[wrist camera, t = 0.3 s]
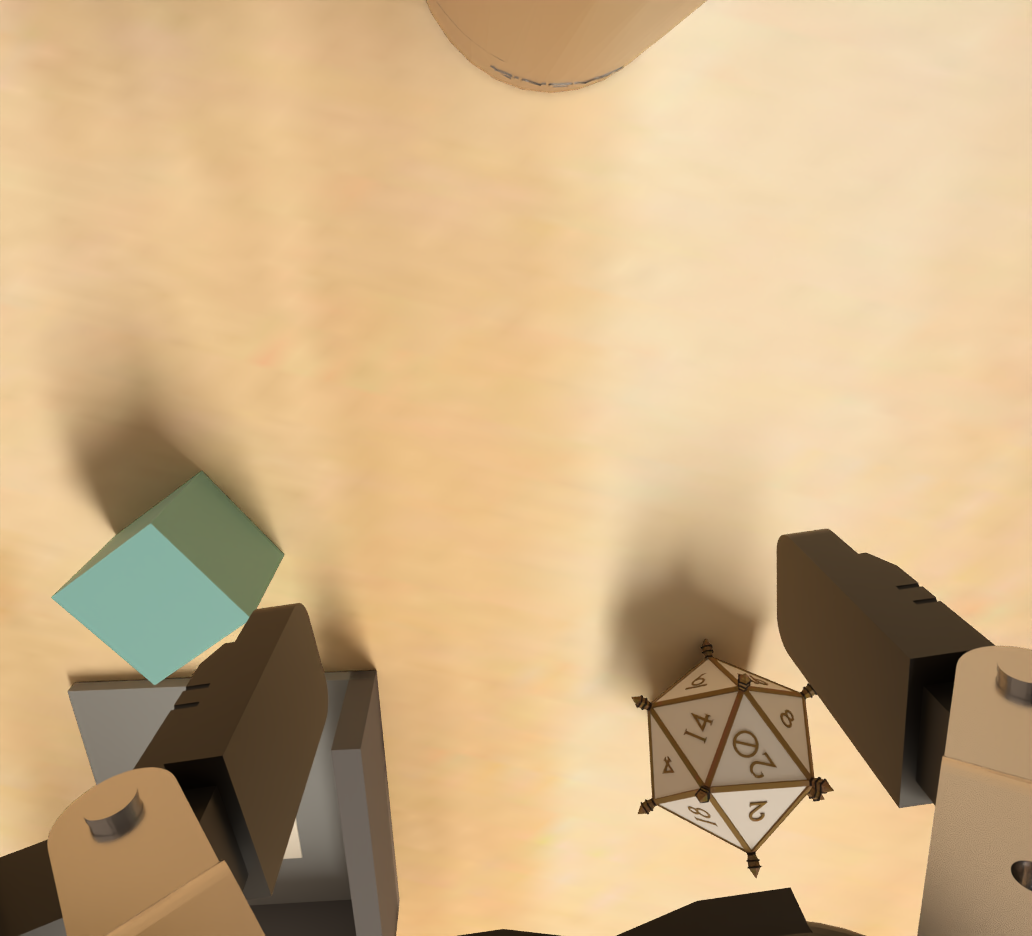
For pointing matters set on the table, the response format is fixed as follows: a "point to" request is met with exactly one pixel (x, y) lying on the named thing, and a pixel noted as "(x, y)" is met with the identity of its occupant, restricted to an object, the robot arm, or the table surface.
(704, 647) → the game die
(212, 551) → the cube
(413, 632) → the table surface
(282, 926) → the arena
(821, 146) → the table surface
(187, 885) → the robot arm
